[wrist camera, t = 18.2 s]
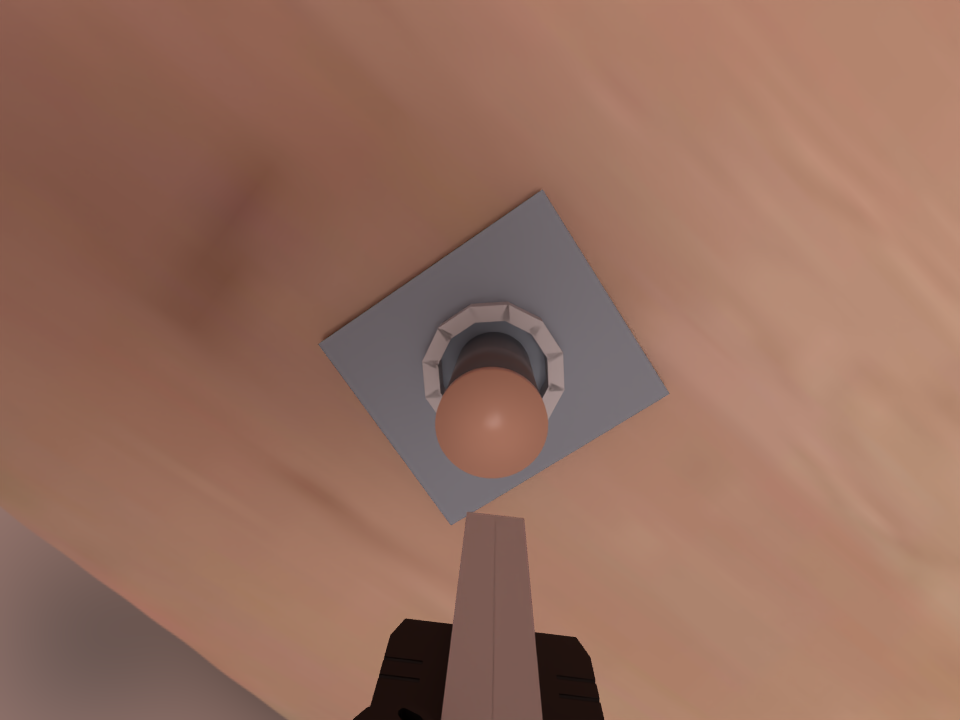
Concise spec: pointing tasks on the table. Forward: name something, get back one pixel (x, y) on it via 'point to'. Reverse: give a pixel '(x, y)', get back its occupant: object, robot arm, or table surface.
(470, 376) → the canister
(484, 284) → the board
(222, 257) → the table surface
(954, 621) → the table surface
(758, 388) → the table surface
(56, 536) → the table surface
